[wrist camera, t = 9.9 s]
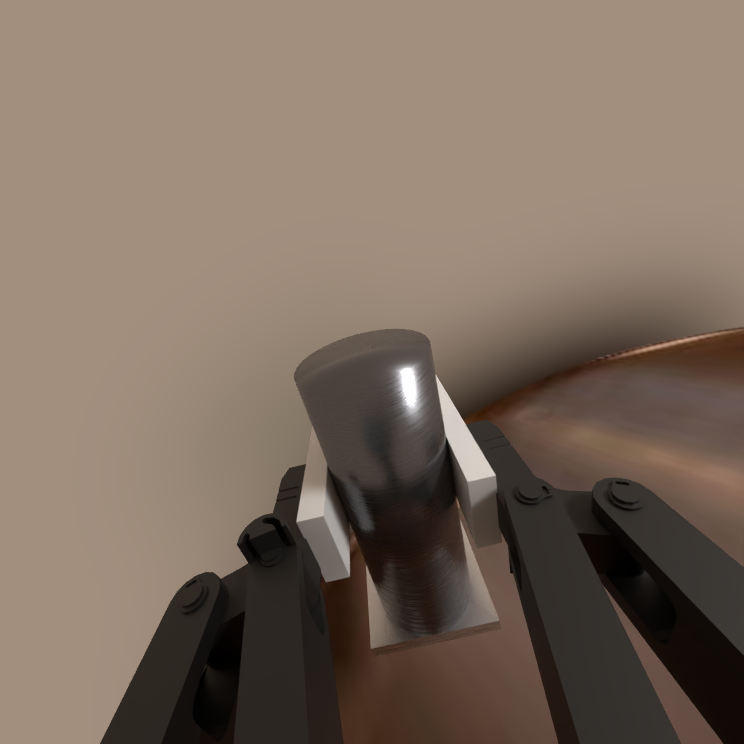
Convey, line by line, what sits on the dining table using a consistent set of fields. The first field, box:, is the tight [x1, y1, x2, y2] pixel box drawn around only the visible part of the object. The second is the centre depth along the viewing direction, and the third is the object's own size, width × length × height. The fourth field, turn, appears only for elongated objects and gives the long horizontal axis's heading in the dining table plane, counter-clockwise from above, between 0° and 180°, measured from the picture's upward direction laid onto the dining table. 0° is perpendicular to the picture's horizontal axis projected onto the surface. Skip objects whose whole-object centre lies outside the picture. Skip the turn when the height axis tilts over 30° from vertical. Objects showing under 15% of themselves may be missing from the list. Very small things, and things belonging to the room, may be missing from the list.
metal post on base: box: [294, 329, 500, 656], centre depth 14 cm, size 5×10×12 cm, turn 4°
